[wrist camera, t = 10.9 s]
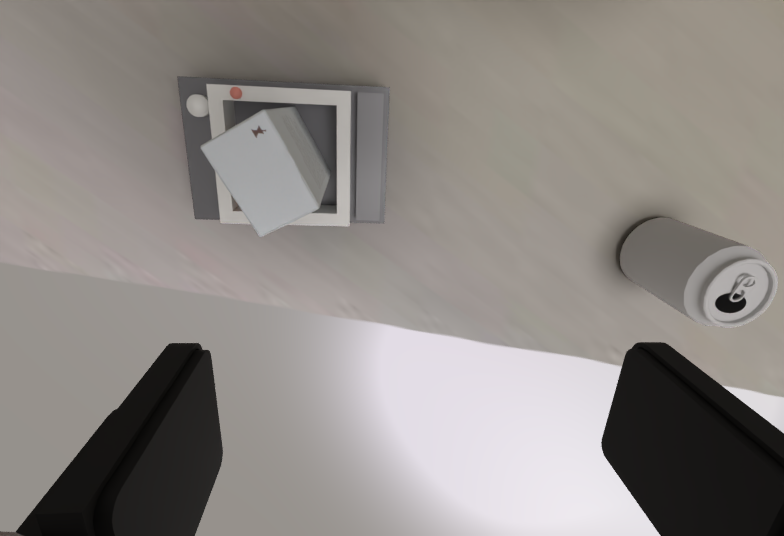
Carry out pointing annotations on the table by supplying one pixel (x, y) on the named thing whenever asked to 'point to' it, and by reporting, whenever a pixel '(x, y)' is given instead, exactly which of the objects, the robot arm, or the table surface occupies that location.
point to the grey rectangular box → (326, 126)
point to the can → (699, 272)
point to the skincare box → (270, 168)
